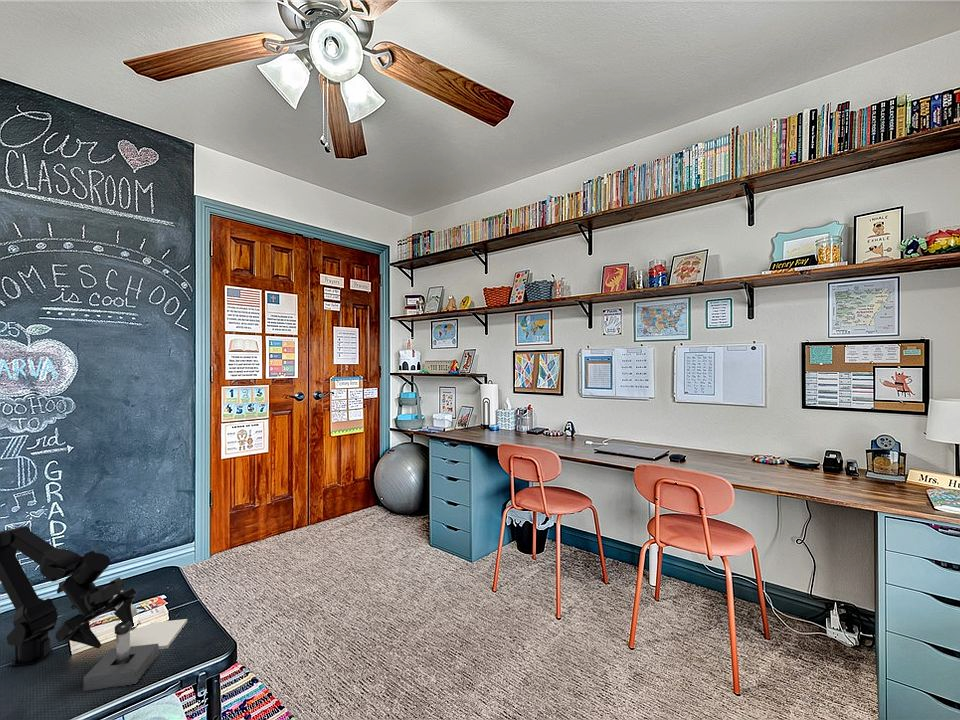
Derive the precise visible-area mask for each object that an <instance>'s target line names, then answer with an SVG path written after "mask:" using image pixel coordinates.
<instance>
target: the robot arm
mask: <svg viewBox="0 0 960 720" xmlns="http://www.w3.org/2000/svg"><path fill="white" fill-rule="evenodd" d="M17 551H18V552H20V553H21V554H23V555H24V556H26V557H27V558H28V559H30V560H31V561H33V562H35V563H36V564H37V565H38V566H39V572H40V574H41V575H42V576H43V578H45V579H46V580H48V582H52V583H53V582H57V581H58V580H59V581H60V580H61V579H64V578H65V580H62V581H60V582H59V583H58V587H57V588H56V589H57V590H56V594H61V593H63V592H64V594H65V595H66V596H67V598H68V599H69V600H70V601H71V603H72V605H70V608H71V609H72V610H75V609H76V610H77V611H78V612H79V613H78V614H77V615H75V616H73V617H71V618H69V619H67V620H65V621H64V622H63V623H62V624H61V625H60V627H59V628H58V629H57V630H56V631H55V634H54V635H55V636H54V637H55V639H56V641H57V642H58V643H62V642H63V641H65V642H66V643H68V642H74V643H80V644H83V645H86V646H88V647H91V648H94V649H100V648H101V647H102V643H101V642H100V640H99V639H98V637H97V636H96V635H95V633H94V632H93V631H92V629H91V627H90V621H92V620H94V619H96V618H98V617H100V616H102V615H103V614H105V613H107V612H108V611H114V613H113V615H114V616H115V617H116V618H118V620H121V621H122V622H125V621H130V622H131V628H132V627H133V626H134V623H133V618H132V613H131V603H132V602H133V601H134V600H135V597H136V596H137V594H138V592H137V591H136V589H135V588H134V587H129V588H126V589H125V590H123V591H122V592H121V589H123V588H125V586H126V585H125V583H124V580H123V579H121V577H117V578H115V579H113V580H111V581H109V585H107V586H106V587H103V585H100V584H99V585H97V586H96V583H95V581H97V580H98V579H99V577H100V576H101V575H102V574H103V573H104V572H105V571H106V570H107V568H108V567H109V566H110V563H111V558H110V557H109V556H108V555H106V554H104V553H100V552H95V550H90V551H88V552H86V553H84V554H83V555H80V554H79V553H77V552H75V551H72V550H71V549H67V548H66V549H64V548H57V547H55V546H54V545H52V544H50V543H49V542H48V541H46V540H44V539H43V538H42V537H40V536H39V535H38V534H35V533H34V532H33V531H31V529H30V527H29V526H27V525H26V526H25V525H22V526H17V527H15V528H12V529H9V530H8V529H5V530H1V531H0V583H1V585H2V586H3V588H4V590H5V593H6V594H7V596H8V598H9V600H10V602H11V603H12V606H13V607H14V609H15V612H14V613H15V614H14V617H13V621H12V623H13V626H14V628H13V629H12V631H10V633H9V634H8V635H7V636H6V641H7V644H8V645H9V646H14V660H13V662H11V663H10V665H9V666H10V667H17V666H26V665H34V664H38V663H39V662H40V661H41V660H43V658H45V657H46V656H47V655H49V654H50V653H51V652H52V651H53V647H51V638H50V637H49V632H50V631H53V630H55V629H56V625H57V621H58V617H59V613H58V608H57V607H56V606H55V604H54V602H53V600H52V599H51V598H48V597H47V598H46V599H43V598H40V597H39V596H38V594H37V592H36V589H34V587H33V585H32V583H31V581H30V579H29V577H28V576H27V574H26V572H25V570H24V568H23V566H22V565H21V563H20V561H19V559H18V557H17V553H18V552H17ZM116 594H118V595H117V596H116V597H115V598H114V595H116ZM113 598H114V599H113ZM132 604H133V603H132ZM132 629H133V628H132Z"/></svg>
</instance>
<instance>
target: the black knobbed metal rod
mask: <svg viewBox="0 0 960 720" xmlns="http://www.w3.org/2000/svg"><path fill="white" fill-rule="evenodd" d="M131 630H132V629H131V622H130V621H125V622H121V623H119V622H118V623H117V624H116V625H115V626H114V634H115V648H116V665H120V664H128V662H129V661H130V633H131Z"/></svg>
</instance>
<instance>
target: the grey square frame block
mask: <svg viewBox="0 0 960 720" xmlns="http://www.w3.org/2000/svg"><path fill="white" fill-rule="evenodd" d="M158 657H159V650H158V644H149V645H140V646H131V647H130V661H129V662H128V664H120V665H116V647H115V648H111V649H110V650H109V651H107V652H106V654H104V655H103V657H102V658H101V659H100V660H99V661H98V662H97V663H96V664H95V665H93V667H92V668H91V669H90V670H89V671H88V672H87V673H86V675H84V677H83V692H88V691H96V690H103V688H105V689H109V688H108V687H113V686H114V687H113V688H118V687H117V686H121V687H126V685H129V686H133V685H132V684H136V683H137V682H138V681H139V682H140V680H141V679H142V678H141V676H142V675H143V674H144V673H145V674H146V672H147V671H148V670H149V669H148V668H150V667H151V666H152V665H151V664H154V662H155V661H156V660H157V658H158ZM154 660H155V661H154ZM150 665H151V666H150ZM149 666H150V667H149ZM147 669H148V670H147ZM146 670H147V671H146ZM145 671H146V672H145ZM145 674H144V675H145ZM144 675H143V676H144ZM143 676H142V677H143ZM140 678H141V679H140ZM139 679H140V680H139ZM137 684H138V683H137ZM137 684H136V685H137Z"/></svg>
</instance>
